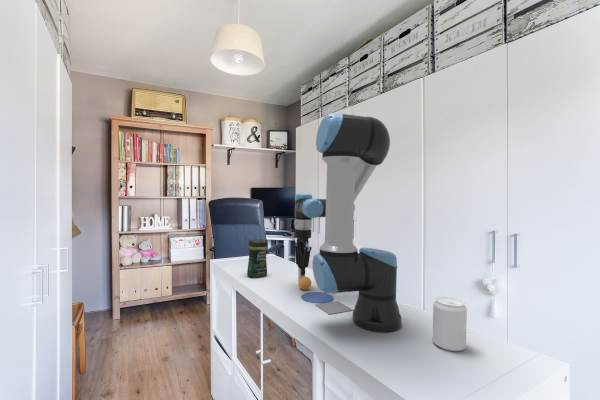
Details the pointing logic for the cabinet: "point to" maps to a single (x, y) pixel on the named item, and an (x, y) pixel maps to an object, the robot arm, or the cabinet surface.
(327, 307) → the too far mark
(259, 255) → the coffee jar
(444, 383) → the cabinet surface
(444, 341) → the beverage can
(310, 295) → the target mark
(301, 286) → the ball
